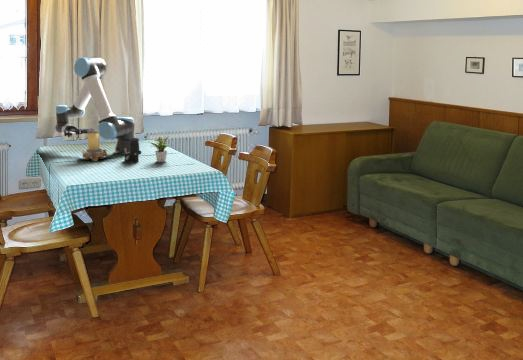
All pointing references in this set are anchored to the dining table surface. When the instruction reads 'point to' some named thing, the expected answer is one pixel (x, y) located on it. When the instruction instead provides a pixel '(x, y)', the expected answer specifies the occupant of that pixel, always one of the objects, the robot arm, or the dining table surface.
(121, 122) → the robot arm
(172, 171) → the dining table surface
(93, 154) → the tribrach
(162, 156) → the house plant
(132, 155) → the scope
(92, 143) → the yellow thread spool
